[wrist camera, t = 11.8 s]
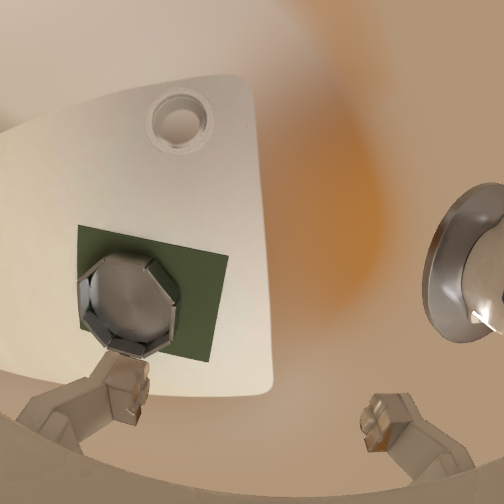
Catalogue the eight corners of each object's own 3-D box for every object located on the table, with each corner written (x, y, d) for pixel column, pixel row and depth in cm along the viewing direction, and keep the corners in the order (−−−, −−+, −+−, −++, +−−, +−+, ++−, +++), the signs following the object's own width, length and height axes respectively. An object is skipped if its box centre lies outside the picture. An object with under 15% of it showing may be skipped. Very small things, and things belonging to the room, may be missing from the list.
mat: (228, 256, 36) (228, 256, 35) (208, 362, 40) (208, 362, 40) (78, 225, 34) (78, 225, 34) (80, 328, 39) (80, 328, 39)
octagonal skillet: (92, 241, 35) (74, 252, 30) (187, 260, 36) (178, 275, 31) (97, 362, 41) (85, 380, 36) (174, 383, 42) (168, 404, 37)
